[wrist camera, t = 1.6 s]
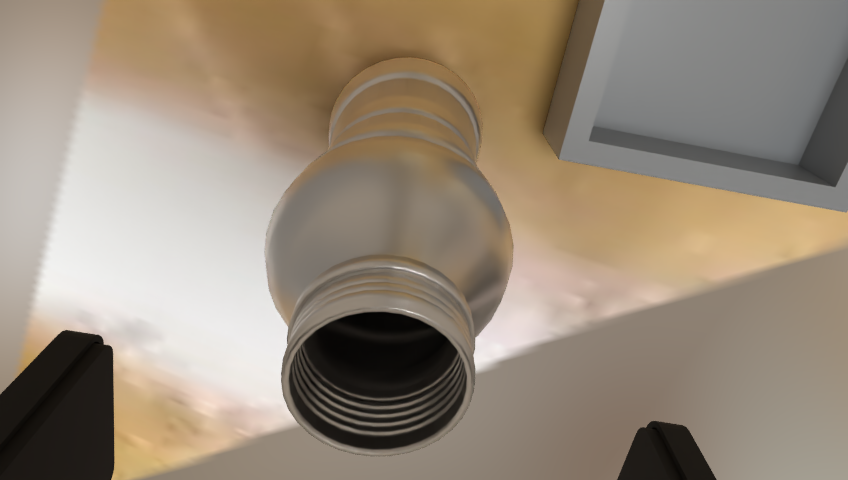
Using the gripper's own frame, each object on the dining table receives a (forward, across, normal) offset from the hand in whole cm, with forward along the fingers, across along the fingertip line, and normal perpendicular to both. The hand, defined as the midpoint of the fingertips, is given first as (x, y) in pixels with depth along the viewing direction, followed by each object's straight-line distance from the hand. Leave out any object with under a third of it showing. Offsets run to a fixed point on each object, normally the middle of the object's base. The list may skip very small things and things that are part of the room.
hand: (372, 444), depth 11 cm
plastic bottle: (+21, 0, -1) cm, 21 cm away
